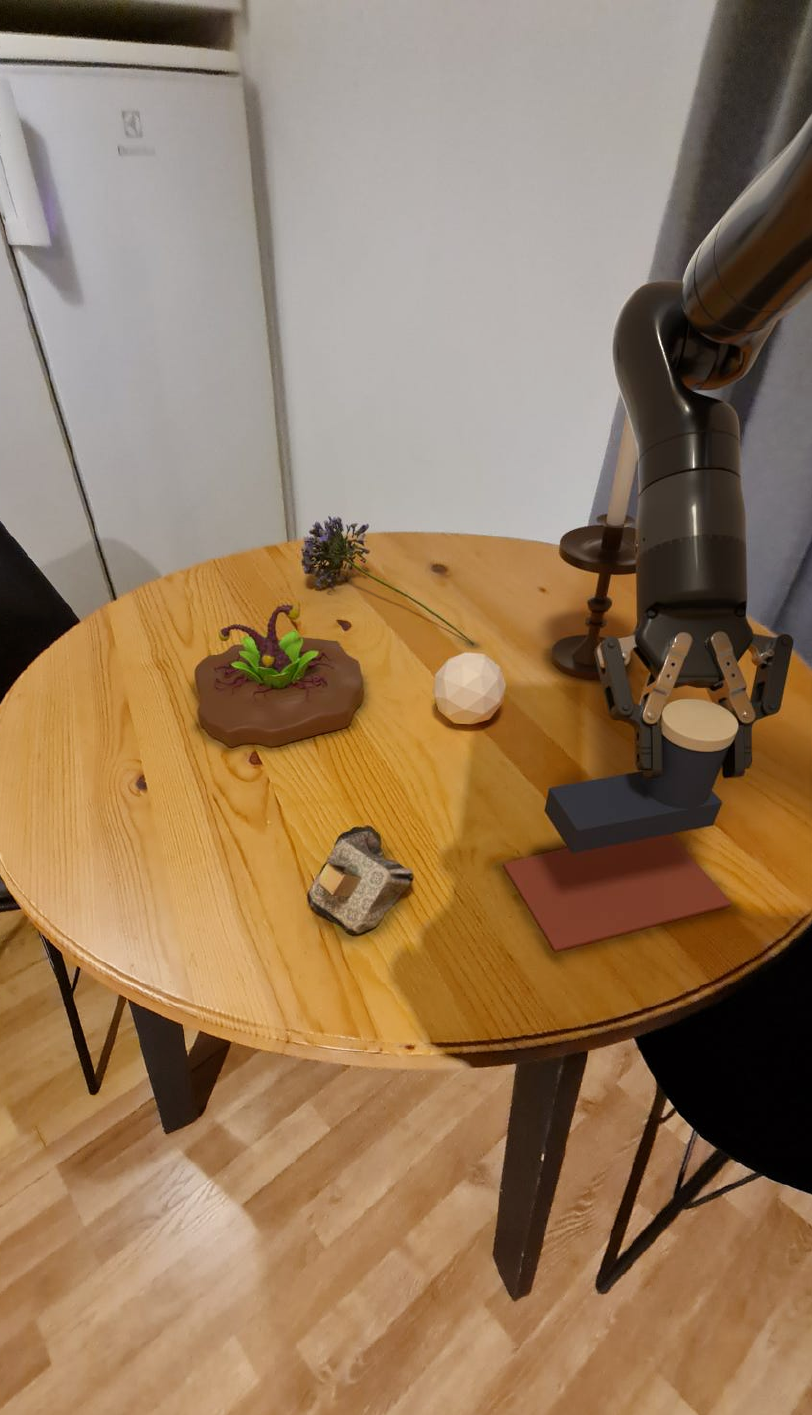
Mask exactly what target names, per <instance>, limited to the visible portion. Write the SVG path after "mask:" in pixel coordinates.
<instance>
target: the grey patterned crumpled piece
mask: <svg viewBox="0 0 812 1415" xmlns="http://www.w3.org/2000/svg"><path fill="white" fill-rule="evenodd" d="M381 837H382V836H381V834H380V833H379V832H378V831H377V830H376V829H375V828H374V827H373V826H372V825H368V824H367V825H365V826H354V827H352V828H351V829H349V830H347V831H344V832H342V833H340V834H339V835H338V836H337V839H336V840H335V843H334V845H333V849H332V851H331V852H330V854H329V856H328V857H327V859H326V861H325V862H324V864H323V865H322V867H321V869H320V871H319V872H318V874H317V875H316V877H315V879H314V881H313V882H312V884H311V886H310V887H309V890H308V891H307V894H306V899H307V903H308V905H309V906H310V907H312V909H313V910H314V911H315V912H316V913H318V914H319V915H321V916H322V917H326V918H327V919H328V920H329V921H331V922H332V923H334V924H335V925H337V926H340V927H341V929H342V930H343V931H345V932H346V933H348V934H349V935H358V934H361V933H362V932H365V931H368V930H372V929H374V928H376V927H378V926H379V925H380V923H381V921H382V920H383V918H384V916H385V914H386V913H387V912H388V911H389V910H390V909H391V908H392V906H394V905H395V903H396V902H397V901H398V899H399V898H400V896H401V894H403V893H404V892H405V891H407V890H408V889H409V887H410V886H411V885H412V883H413V882H414V877H415V876H414V872H413V870H412V869H410V868H408V867H405V866H403V865H402V864H401V863H400V862H398V861H396V860H395V859H390V858H387V857H384V856H382V855H383V854H384V851H383V849H382V847H381V843H382V838H381Z"/></svg>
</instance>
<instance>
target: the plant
mask: <svg viewBox="0 0 812 1415" xmlns="http://www.w3.org/2000/svg"><path fill="white" fill-rule="evenodd" d="M280 613H284V615H285V616H286V618H288V619H289V620H292V621H295V620H297V619H299V617H300V610H299V608H298V607H296V606H295V605H292V604H290V605H289V604H282V605H280V606H279V605H278V606H277V607H276V609H275V610H273V612H272V613H271V616H270V617H269V619H268V621H269V622H268V623H267V624H266V627H267V632H266V633H267V634H266V633H264V634H260V633H259V632H258V631H257V630H256V629H254V628H251V627H250V626H247V625H243V624H237V623H235V624H231V625H230V626H228V625H227V627H224V628H222V629H220V631H219V632H218V638H219V639H220V641H221V642H222V641H223V642H227V641H228V640H229V639H230V638H231V631H232V630H233V631H234V630H236V631H238V630H239V631H241V632H243V633H244V632H245V633H246V634H247V635H248V636H243V637H242V639H241V644H233V645H231V646H230V647H229V648H228V649H226V650H225V651H223V652H221V653H219V654H210V655H207V656H206V657H205V658H203V659H202V660H201V661H200V662H199V663H198V664H197V666H195V669H194V679H195V684H196V688H197V692H198V694H199V695H198V696H199V705H198V707H197V717H198V721H199V725H200V727H201V728H202V729H204V730H205V731H206V732H207V734H209V735H210V737H212V738H213V739H215V740H218V741H220V742H222V743H223V744H224V745H226V746H227V747H228V748H234V747H238V746H240V745H246V744H257V745H262V746H265V747H270V748H274V747H279V746H283V745H286V744H289V743H292V742H297V741H299V740H300V741H301V740H303V739H307V738H310V737H314V736H317V735H320V734H325V733H326V734H327V733H329V732H333V731H337V730H341V729H345V728H348V727H349V726H350V725H351V722H352V719H353V717H354V714H355V712H356V710H358V708H359V707H360V706H361V704H362V703H363V699H364V680H363V674H362V669H361V664H360V662H359V660H358V659H356V658H354V657H352V656H350V655H349V654H348V653H347V652H346V650H345V649H344V648H343V647H342V645H341V644H340V642H339V641H338V640H329V639H321V638H311V637H302V636H299V632H298V631H297V630H296V629H294V630H291V631H288V632H287V633H286V634H285V635H284V636H283V637H282V638H281V639H279V637H278V636H277V628H276V627H277V620H278V617H279V614H280Z"/></svg>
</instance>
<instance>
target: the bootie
mask: <svg viewBox="0 0 812 1415" xmlns="http://www.w3.org/2000/svg"><path fill="white" fill-rule="evenodd" d="M658 725H662V760H663V772H662V776H661V777H657V778H644V776H643V770H638V771H633V772H628V773H623V774H617V775H612V776H605V777H600V778H595V779H590V780H584V781H579V782H573V783H568V784H562V785H557V786H552V787H549V788H548V791H547V796H546V802H545V806H544V813H545V814H546V816H547V817H548V819H549V821H550V822H551V824H552V825H553V827H554V828H555V830H556V831H557V834H558V835H559V837H560V838H561V839H562V841H563V842H564V844H565V846H566V848H568V849H569V850H570V852H571V853H577V852H582V851H587V850H592V849H597V848H602V847H607V846H612V845H618V844H623V843H628V842H633V841H638V840H643V839H648V838H653V837H658V836H663V835H668V834H672V835H673V834H678V833H682V832H687V831H693V830H699V829H702V828H708V827H713V826H714V824H715V822H716V820H717V817H718V814H719V812H720V810H721V807H722V805H723V801H722V800H721V799H720V798H719V796H718V795H717V794H716V793H715V792H714V791H713V789H714V786H715V784H716V781H717V778H718V776H719V774H720V771H721V770H722V764H723V761H724V759H725V756H726V754H727V751H728V749H729V746H730V744H731V743H732V742H733V740H734V738H735V735H736V733H737V730H738V722H737V720H736V718H735V717H734V715H733V714H732V713H731V712H729V711H728V710H727V709H725V708H723V707H722V706H719V705H717V704H715V703H714V702H713V701H709V700H705V699H698V698H680V699H675V700H673V701H671V702H668V703H667V704H665V705H664V708H663V710H662V713H661V715H660V718H659V720H658Z"/></svg>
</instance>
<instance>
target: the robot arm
mask: <svg viewBox="0 0 812 1415" xmlns="http://www.w3.org/2000/svg"><path fill="white" fill-rule="evenodd" d="M811 293H812V113H811V114H810V115H809V117H808V118H807V120H806V121H805V122H804V124H803V125H802V126H801V128H800V129H799V131H798V132H797V133H796V134H795V136H794V137H793V139H791V141H789V143H788V144H787V145H786V146H785V147H784V148H783V149H782V150H781V151H779V153H777V154H776V155H775V156H774V157H773V158H772V159H771V160H770V161H769V162H768V163H767V164H766V165H765V166H764V167H763V168H762V169H761V170H760V171H759V172H758V173H757V174H756V175H755V177H754V178H753V179H752V180H751V181H750V182H749V183H748V185H747V186H746V187H745V188H744V189H743V190H742V192H741V193H740V194H739V195H738V196H737V197H736V199H735V200H734V201H733V202H732V204H731V205H730V206H729V208H728V209H726V211H725V212H724V214H723V215H722V216H721V217H720V219H719V220H718V221H717V223H716V224H715V225H714V227H713V228H712V229H711V231H709V233H708V234H707V235H706V237H705V238H704V239H703V240H702V242H701V243H700V244H699V246H698V247H697V249H696V250H695V252H694V254H693V255H692V256H691V259H690V260H689V263H688V265H687V267H686V269H685V272H684V274H683V277H682V280H677V279H676V280H675V279H674V280H670V279H667V280H655V281H650V282H647V283H644V284H642V285H640V286H639V287H637V288H635V290H634V291H632V292H631V294H630V295H629V296H628V297H627V298H626V300H625V301H624V303H623V304H622V306H621V307H620V309H619V312H618V313H617V316H616V319H615V321H614V325H613V329H612V330H613V331H612V335H611V345H610V346H611V362H612V368H613V373H614V377H615V378H614V379H615V381H616V384H617V388H618V391H619V393H620V396H621V399H622V402H623V405H624V408H625V411H626V412H627V414H628V417H629V421H630V424H631V428H632V431H633V435H634V438H635V442H636V446H637V451H638V457H637V477H638V479H637V480H638V481H637V485H638V489H637V490H638V492H637V493H638V501H637V512H636V513H637V514H636V519H635V529H636V534H635V535H636V541H635V543H634V554H635V557H636V573H635V587H636V589H635V590H636V592H635V593H636V594H635V596H636V598H635V600H636V626H635V629H634V630H633V632H632V634H631V635H629V636H624V637H618V638H617V637H616V636H613V635H611V636H606V637H605V638H606V639H604V640H603V641H602V642H601V643H600V644H599V645H598V646H597V647H596V649H595V651H594V654H595V658H596V663H597V667H598V671H599V676H600V679H599V680H600V683H601V688H602V692H603V696H604V697H603V698H604V700H605V705H606V710H607V714H608V717H609V718H610V719H611V720H612V721H614V722H615V721H616V722H618V721H620V722H623V723H626V724H629V725H630V726H631V727H632V728H633V732H634V764H635V767H636V769H637V771H643V776H644V778H657V777H661V776H662V772H663V760H662V725H659V724H658V722H659V720H660V717H661V714H662V711H663V709H664V707H665V706H666V702H667V700H668V698H669V696H670V695H671V694H672V691H673V690H674V689H678V688H682V687H685V686H688V687H691V688H696V689H706V690H705V691H706V693H707V694H708V696H709V699H710V701H711V702H712V703H715V704H717V705H719V706H722V707H723V708H725V709H727V710H728V711H729V712H731V713H732V714H733V715H734V717H735V718H736V720H737V722H738V730H737V733H736V735H735V738H734V740H733V742H732V743H731V744H730V746H729V749H728V751H727V754H726V756H725V759H724V761H723V764H722V766H721V775H722V777H723V779H737V778H738V779H739V778H742V777H744V776H745V773H746V770H748V769H750V768H751V766H752V763H753V736H752V734H753V733H752V732H753V730H752V729H753V725H754V723H755V722H757V721H758V720H762V719H764V718H767V717H769V716H773V715H776V714H778V713H779V712H780V710H781V707H782V702H783V697H784V692H785V687H786V683H787V677H788V673H789V667H790V662H791V658H792V652H793V647H794V638H793V637H792V636H791V635H790V634H787V633H782V634H780V635H778V636H770V635H765V634H761V633H754V630H753V628H752V626H751V625H750V623H749V621H748V618H747V608H748V572H747V570H748V569H747V530H746V529H747V521H746V520H747V517H746V516H747V515H746V506H745V501H744V500H745V499H744V496H743V489H742V471H741V470H742V468H741V466H742V465H741V464H742V463H741V432H740V430H741V428H740V427H741V426H740V420H739V416H738V414H737V412H736V410H735V408H734V407H733V406H731V404H729V403H727V402H726V401H723V400H721V399H718V398H715V397H713V396H709V395H705V394H702V393H699V392H697V391H700V392H701V391H703V392H705V391H707V392H708V391H716V390H720V389H723V388H726V387H729V386H731V385H733V384H735V383H737V382H739V381H740V380H741V379H742V378H744V377H745V376H746V375H747V374H748V373H749V372H750V370H751V369H752V367H753V365H754V363H755V361H756V360H757V358H758V356H759V354H760V352H761V349H762V347H763V346H764V344H765V342H766V340H767V339H768V337H769V336H770V334H771V332H772V331H773V329H774V327H775V325H776V324H777V322H778V321H780V319H782V318H783V317H784V316H785V315H786V314H788V313H789V312H790V311H791V310H792V309H794V308H795V307H796V306H797V305H798V304H799V303H800V302H802V301H803V300H804V299H805V298H806V297H808V296H809V295H810V294H811ZM632 651H633V652H634V654H635V655H636V656H637V658H638V659H639V660H640V661H641V663H642V664H643V665H644V667H645V668H646V669H647V671H648V675H647V677H646V681H645V682H644V685H643V688H642V690H641V692H640V696H639V698H640V699H639V702H638V703H635V702H634V698H633V693H632V690H631V686H630V681H629V677H628V673H627V667H626V668H625V665H627V666H628V664H629V663H630V661H631V653H632ZM747 651H749V653H750V654H751V662H752V664H753V665H755V666H756V670H755V674H754V679H753V684H752V688H751V694H750V698H749V695H748V693H747V688H748V687H747V681H746V680H745V677H744V674H743V672H742V669H741V668H740V665H739V662H740V660H741V659H742V657H743V656H744V655H745V653H746V652H747Z"/></svg>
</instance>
